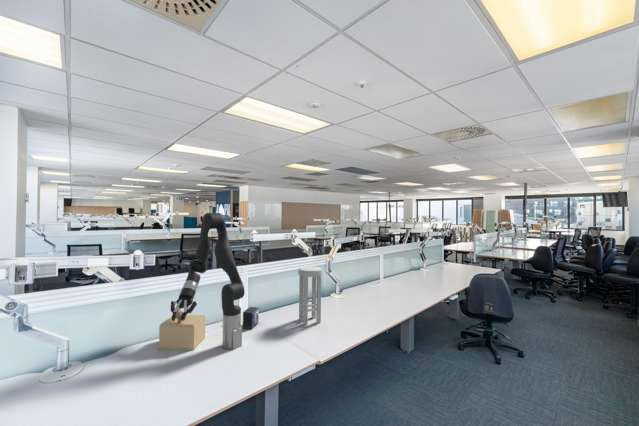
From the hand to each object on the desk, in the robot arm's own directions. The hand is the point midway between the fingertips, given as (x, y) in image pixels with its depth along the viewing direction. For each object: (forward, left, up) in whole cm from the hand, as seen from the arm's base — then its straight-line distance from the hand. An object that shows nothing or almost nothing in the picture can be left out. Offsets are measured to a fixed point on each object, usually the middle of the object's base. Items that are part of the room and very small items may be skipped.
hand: (177, 320), depth 144 cm
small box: (-11, -43, -15) cm, 46 cm away
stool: (-38, -70, -15) cm, 81 cm away
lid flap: (+3, -6, -3) cm, 7 cm away
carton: (+3, -6, -15) cm, 16 cm away
